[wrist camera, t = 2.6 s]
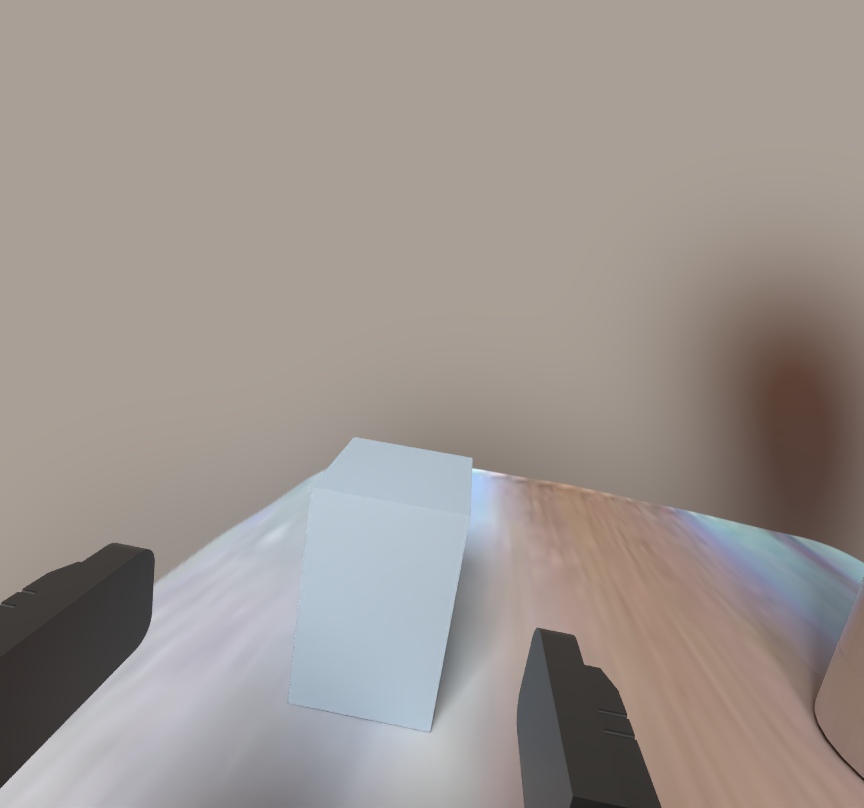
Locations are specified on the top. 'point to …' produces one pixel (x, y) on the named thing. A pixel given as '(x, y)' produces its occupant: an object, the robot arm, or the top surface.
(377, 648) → the tall pale blue box
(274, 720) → the top surface
